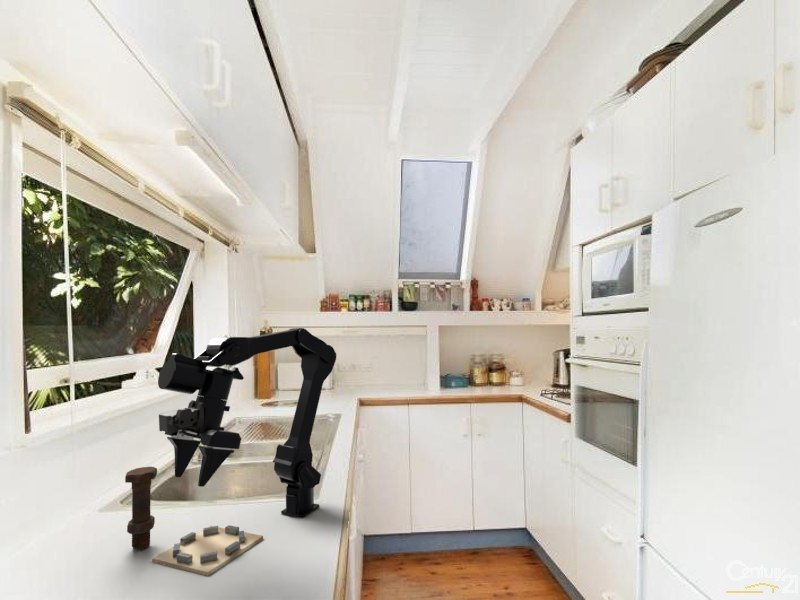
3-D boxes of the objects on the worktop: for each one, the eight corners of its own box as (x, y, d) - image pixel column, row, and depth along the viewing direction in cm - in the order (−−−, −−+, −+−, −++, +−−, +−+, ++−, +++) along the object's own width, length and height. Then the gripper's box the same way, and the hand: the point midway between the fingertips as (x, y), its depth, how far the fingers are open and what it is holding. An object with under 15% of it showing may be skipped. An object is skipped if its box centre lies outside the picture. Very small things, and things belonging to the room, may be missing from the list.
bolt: (151, 538, 89) (152, 464, 90) (161, 545, 86) (162, 468, 87) (119, 550, 85) (120, 472, 86) (129, 558, 82) (130, 476, 83)
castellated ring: (211, 527, 92) (211, 521, 92) (258, 536, 87) (257, 530, 87) (157, 557, 80) (157, 550, 81) (208, 569, 76) (208, 562, 76)
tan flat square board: (211, 528, 93) (211, 525, 93) (263, 538, 87) (263, 535, 88) (151, 561, 80) (151, 558, 80) (208, 575, 75) (208, 572, 75)
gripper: (151, 388, 86) (124, 471, 81) (197, 394, 74) (168, 491, 70) (203, 397, 94) (181, 473, 89) (252, 404, 83) (230, 491, 78)
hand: (189, 481), depth 81 cm, fingers open, 9 cm apart
